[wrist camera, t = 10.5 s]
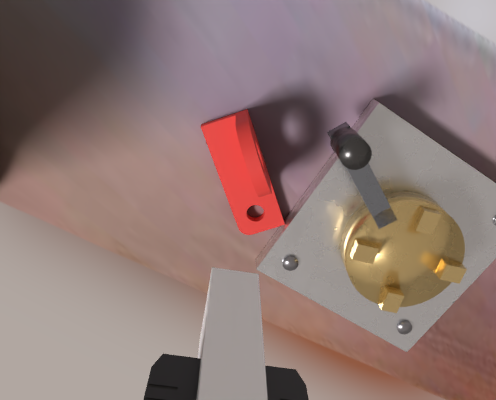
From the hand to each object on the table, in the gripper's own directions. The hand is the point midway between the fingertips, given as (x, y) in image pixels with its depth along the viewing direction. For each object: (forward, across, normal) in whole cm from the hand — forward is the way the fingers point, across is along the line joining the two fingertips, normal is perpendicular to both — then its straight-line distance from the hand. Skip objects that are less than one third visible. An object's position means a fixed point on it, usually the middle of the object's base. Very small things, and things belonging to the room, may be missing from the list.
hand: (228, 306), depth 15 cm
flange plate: (+30, +18, -10) cm, 36 cm away
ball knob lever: (+28, +15, -6) cm, 32 cm away
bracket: (+31, +2, -6) cm, 31 cm away
